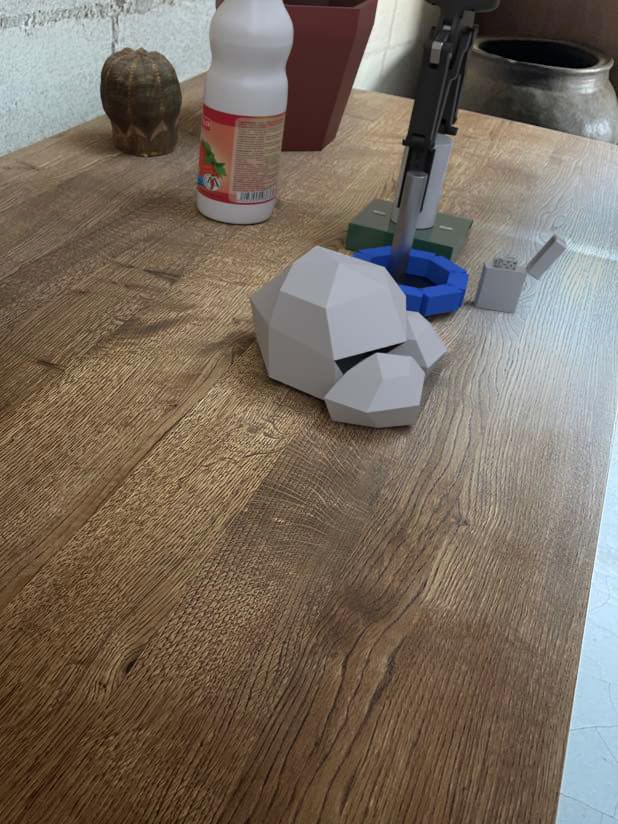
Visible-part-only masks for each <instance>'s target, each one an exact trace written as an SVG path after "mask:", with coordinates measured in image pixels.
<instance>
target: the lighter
mask: <svg viewBox="0 0 618 824" xmlns="http://www.w3.org/2000/svg"><path fill="white" fill-rule="evenodd" d="M567 248H568V243H567V241H566V240H565V239H563V238H562V237H560V236H559V235H558V234H556V233H554V234H553V235H552V236H551V237H550V238H549V239H548V240H547V242H545V244H544V245H543V246H542V247H541V248H540V249H539V251H538V252H537V253H536V254H535V255H534V256H533V257H532V258H531V260H530V261H529V262H528V263H527V264H526V266H522V265H518V264H519V257H517V256H511V255H503V254H500V255H499V256H497V257H495V258H493V260H492V261H486V260H485V261H484V263H483V266H482V270H481V272H480V273H481V274H480V276H479V281H478V284H477V287H476V291H475V295H474V299H473V306H474V308H477V309H482V310H483V309H484V310H491V311H498V312H504V313H510V314H515V313H516V311H517V306H518V304H519V300H520V297H521V293H522V290H523V288H524V284H525V281H526V278H527V274H528V275H529V276H531V277H532V278H534V279H535V280H536V281H537V280H539V279H541V277H542V276H543V275H544V274H545V273H546V272H547V271H548V270H549V269H550V268H551V266H552V265H553V264H554V263H555V262H556V261H557V260H558V259H559V258H560V256H561V255H562V254H563V253H564V252H565V251H566V250H567Z"/></svg>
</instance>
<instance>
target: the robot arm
mask: <svg viewBox="0 0 618 824" xmlns="http://www.w3.org/2000/svg"><path fill="white" fill-rule="evenodd" d="M424 1H425V3H427V4H429V5H432V6H437V7H439V9H440V10H439V12H440V14H439V15H438V19H437V21H436V22H437V23H436V25H432V26H431V28H430V31H429V35H428V38H426V40H425V42H424V43H423V51H422V58H421V59H422V60H421V66H420V71H419V76H418V81H417V85H416V91H415V95H414V99H413V105H412V109H411V115H410V120H409V124H408V129H407V133H406V136H405V138H402V141H401V145H402V146H403V147H405V146H408V147H409V151H408V155H407V160H406V165H405V170H404V175H403V180H402V184H401V189H400V194H399V199H398V204H397V208H400V204H401V199H402V194H403V190H404V185H405V180H406V175H407V172H408V171H411V170H416V171H422V172H424V173H426V174H427V175H428V176H427V181H426V185H425V190H424V194H423V199H422V203H421V208H420V212H419V213H421V212H422V210H423V205H424V201H425V196H426V192H427V187H428V183H429V179H430V174H431V170H432V165H433V161H434V156H435V152H436V149H433V148H434V147H435V141H436V137H437V133H439V134H443V135H446V136H451V137H452V136H453V137H456V136H457V134H458V130H459V127H457V126H454V125H455V124H456V123H457V121H458V113H459V109H460V105H461V100H462V96H463V91H464V87H465V83H466V78H467V75H468V70H469V65H470V61H471V57H472V53H473V48H474V45H475V41H476V38H477V35H478V34H479V30H480V29H479V24H476V23H475V17H476V13H488V12H492V11H495V10H496V9H497V8H498V7H499V6H500V3H501V0H424Z"/></svg>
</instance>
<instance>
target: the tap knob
mask: <svg viewBox="0 0 618 824" xmlns="http://www.w3.org/2000/svg"><path fill="white" fill-rule="evenodd" d="M454 143H455V141H454V139H453V138H451V136H449V135H447V134H445V135H443V134H439V133H437V137H436V141H435V147H434V148H433V149H436V152H435V156H434V161H433V165H432V170H431V174H430V179H429V183H428V187H427V192H426V196H425V201H424V205H423V210H422V212H421V213H419V217H418V221H417V226H416V229H426V228H430V227H432V226H433V225H434V223H435V219H436V215H437V212H439V211H438V210H439V206H440V202H441V197H442V193H443V189H444V186H445V185H444V184H445V180H446V176H447V171H448V168H449V163H450V159H451V155H452V152H453V146H454ZM408 151H409V147H408V146H404V148H403V152H402V153H403V154H402V157H401V163H400V168H399V173H398V178H397V183H396V186H395V187H396V188H395V193H394V197H393V201H392V202H393V207H392V212H391V220H392V221H393V222H395V223H397V218H398V214H399V209H400V208H397V204H398V199H399V194H400V189H401V184H402V180H403V175H404V170H405V165H406V160H407V155H408Z"/></svg>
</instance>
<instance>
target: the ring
mask: <svg viewBox="0 0 618 824" xmlns="http://www.w3.org/2000/svg"><path fill="white" fill-rule="evenodd" d="M390 252H391V246H386V247H379V248H371V249H364V250H358V252H357V251H354V252H353V254H352V256H351V257H354V258H357V259H360V260H364V261H367V262H370V263H373V264H376V265H379V266H382V267H385V269H386V270H387V267H388V262H389V257H390ZM406 273H407V274H412V275H417V276H422V277H426V278H427V279H429V280H431V281H432V282H434V283H435V284H437V285H438V286H432V287H426V288H415V287H410V286H404V285H399V284H397V285H398V286H399V287H400V289H401V290H402V291H403V293H404V294H405V295H406V311H413V312H419V313H421V314H422V315H424V316H423V317H428V316H433V315H440V314H445V313H450V312H456V311H458V310H459V308H460V309H462V307H463V303H464V299H465V295H466V291H467V287H468V284H469V283H468V282H469V278H470V274H469V273H468V270H466V269H464V268H463V267H461V266H460V265H458V264H456V262H455V263H453V262H451V261H450V260H448V259H446V258H445V257H443V256H435V253H431V252H425V251H420V250H415V249H411V253H410V257H409V262H408V266H407V271H406Z"/></svg>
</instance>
